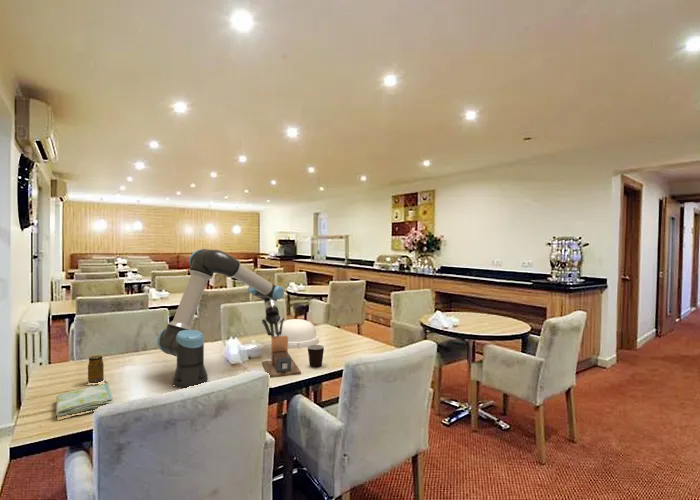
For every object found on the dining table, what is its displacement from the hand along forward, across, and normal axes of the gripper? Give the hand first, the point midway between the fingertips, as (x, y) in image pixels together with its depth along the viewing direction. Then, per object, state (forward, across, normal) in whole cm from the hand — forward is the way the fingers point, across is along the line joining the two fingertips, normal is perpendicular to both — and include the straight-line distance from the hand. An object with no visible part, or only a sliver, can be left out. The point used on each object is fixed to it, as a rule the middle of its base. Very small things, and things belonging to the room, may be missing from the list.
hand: (276, 345), depth 218 cm
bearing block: (+19, 0, +9) cm, 21 cm away
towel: (+30, +82, +19) cm, 89 cm away
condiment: (+12, +83, 0) cm, 84 cm away
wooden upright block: (+17, 0, +9) cm, 19 cm away
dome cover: (-17, -18, -29) cm, 38 cm away
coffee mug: (+17, -19, +5) cm, 26 cm away
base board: (+17, 0, +6) cm, 18 cm away
